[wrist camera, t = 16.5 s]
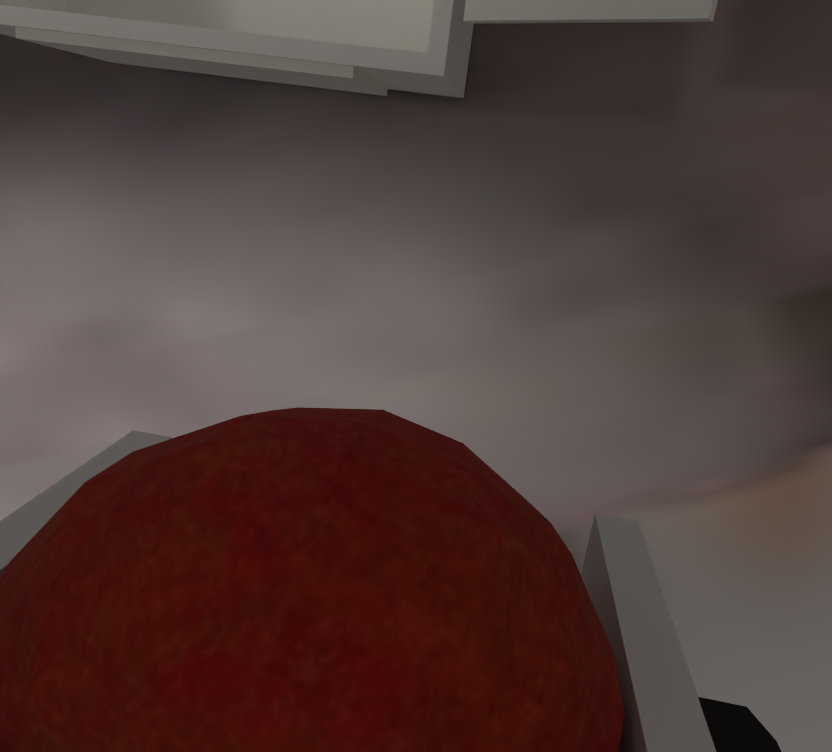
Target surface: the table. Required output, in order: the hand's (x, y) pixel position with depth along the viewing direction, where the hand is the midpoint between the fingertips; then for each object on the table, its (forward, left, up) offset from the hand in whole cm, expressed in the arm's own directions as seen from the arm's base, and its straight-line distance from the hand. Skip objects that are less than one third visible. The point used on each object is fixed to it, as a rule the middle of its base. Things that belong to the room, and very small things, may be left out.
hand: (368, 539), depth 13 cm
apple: (0, 0, -1) cm, 1 cm away
